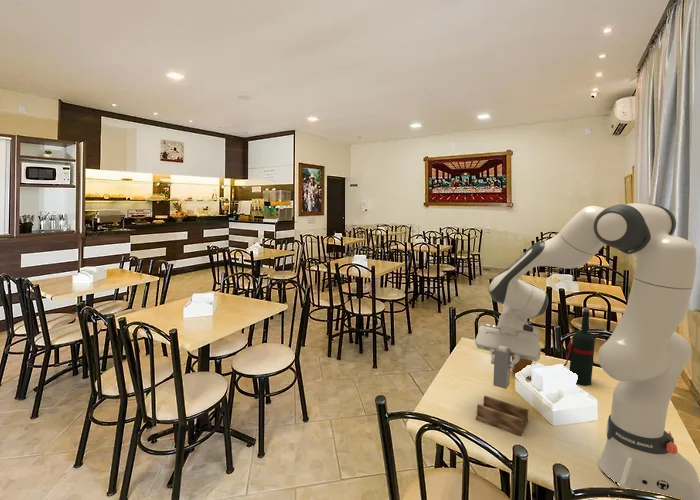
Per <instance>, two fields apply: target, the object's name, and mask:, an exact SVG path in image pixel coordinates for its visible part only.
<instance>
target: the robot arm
mask: <svg viewBox="0 0 700 500" xmlns="http://www.w3.org/2000/svg"><path fill="white" fill-rule="evenodd" d="M676 228H677V219H676V217H675V215H674V214H673V212H672V211H671V210H669V209H667V208H666V207H664V206H661V205H658V204H652V203H651V204H649V203H648V204H645V203H638V202H633V203H625V204H624V203H623V204H614V205H611V206H610V207H607V208H605V207H602V206H599V205H598V206H597V205H588V206H585V207H583V208H582V209H581V210H580V211H578V212H577V213H576V214H575V215H574V216H572V217H571V219H570V220H569V221H568V222H567V223H565V225H564V226H563V227H562V229H561V230H560V231H559V232H558V233H557V234H556V235H554V236H553V237H551V238H549V239H547V240H544V241H543V240H542V241H537V242H535V243H534V244H533V245H531V246H530V247H529V248H528V249H526V250H525V251H524V252H523V253H522V254H521V255H520V256H519V257H518V258H516V260H514V261H513V262H512V263H511V264H510V265H509V266H508V267H507V268H505V270H503V271H502V272H500V273H498V274H497V275H495V277H494V278H493V279H492V280H491V282H490V285H489V287H488V293H489V295H490V297H491V299H492V300H493V302H496V303H499V304H502V311H501V314H500V315H499V319H498V322H497V325H494V324H489V323H484V324H481V325H479V328H478V330H477V332H478V333H477V335H476V338H475V340H474V344H475V347H476V348H477V349H479V350H484V351H488V352H489V353H490V356H491V360H490V364H491V365H494V355H495V350H496V349H497V348H498V347H499V346H500V345H502V346H507V347H508V349H511V356H514V358H515V359H514V360H513V361H512V360H511V361H509V364H508V368H510V370H511V369H514V365H515V364H516V363H517V362H518V361H519V360H520V358H523V359H527V360H532V362H537V361H540V358H541V343H540V333H539V331H538V329H537V327H535V326H533V325H532V324H531V325H530V324H529V323H528V319H533V318H536V317H539V316H542V315H544V314H545V313H546V311H547V308H548V305H549V296H548V294H547V292H546V291H545V290H543V289H542V288H539V287H537V286H535V285H533V284H530V283H527V282H526V281H523V280H521V279H520V278H521V277H523V276H524V275H525V274H527V273H528V272H529V271H530V270H531V269H532V268H536V267H552V268H554V267H555V268H560V269H576V268H580V267H583V266H585V265H586V264H588V263H589V262H590V261H591V260H592V259H593V258H594V257H595V256H596V254H597V253H599V251H600V250H601V249H602V248H603V247H604V246H605V245H607V246H608V247H611V248H613V249H616V250H618V251H620V252H622V253H623V254H626V255H632V254H634V255H635V258H636V265H635V266H636V267H635V270H634V274H633V278H632V279H633V280H632V283H631V288H630V293H629V296H628V301H627V303H626V307H625V309H624V311H623V313H622V315H621V317H620V319H619V321H618V323H617V325H616V326H615V328H614V330H613V332H612V334H610V337H609V338H608V339H607V340H606V341H605V342H604V343H603V344H602V345H601V346H600V348H599V350H598V352H597V353H598V354H597V359H598V363H599V366H600V367H601V368H602V370H603V371H604V373H606V375H608V376H609V377H610V378H611V379H614V380H616V381H618V383H617V384H616V385H615V388H614V389H613V393H612V401H611V409H610V414H609V416H608V419H607V423H606V433H605V434H606V442H605V445H604V448H603V451H602V453H601V455H600V457H599V458H598V461H597V465H598V468H599V469H600V471H601V470H602V471H603V472H604V473H605V474H606V475H607V476H609V477H610V478H612V479H613V480H614V481H615V482H617V483H619V484H620V486H618V487H619V489H621V488H630V489H638V490H644V491H650V492H655V493H660V494H664V495H668V496H672V497H675V498H679V499H682V500H700V480H699V476H698V474H697V470H696V469H695V468H694V466H693V464H692V463H691V462H690V461H689V460H688V459H687V458H685V457H684V456H683V455H682V454H681V453H680V452H679V451H678V446H677V445H676V444H675V439H674V437H673V436H672V433H671V431H666V429H665V428H666V422H667V415H668V409H669V405H670V401H671V399H672V396H673V395H674V394H673V393H674V391H675V389H676V387H677V385H678V382H679V379H680V377H681V374H682V372H683V370H684V368H685V367H686V366H687V364H688V363H689V362H690V360H691V358H692V353H693V352H692V351H693V350H692V346H691V345H690V343H689V341H688V340H687V339H686V338H685V337H684V336H683V335H681V334H680V333H678V332H675V331H676V329H677V328H678V327H679V326H680V325H681V324H682V322H683V321H684V320H685V317H686V314H687V311H688V306H689V302H690V299H691V294H692V292H693V289H694V288H693V287H694V282H695V277H696V271H697V248H696V246H695V245H694V244H693V243H692V242H691V241H689V240H688V239H686V238H683V237H681V236H676V235H675V236H674V235H673V234H674V232H675V231H676ZM602 471H601V472H602ZM603 472H602V473H603ZM604 473H603V474H604ZM605 474H604V475H605ZM606 475H605V476H606ZM607 476H606V477H607ZM615 482H614V483H615Z"/></svg>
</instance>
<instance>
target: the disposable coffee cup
mask: <svg viewBox="0 0 700 500" xmlns="http://www.w3.org/2000/svg"><path fill="white" fill-rule="evenodd" d="M514 359H515V358H514V356H511V362H512V361H513V360H514ZM531 364H533V361H532V360H527V359H523V358H520V360H519V361H518V362H517V363H516V364H515V365H514V369H512V374H513V375H514V374H515V373H517V372H519V371H521V370H522V369H523V368H525V367H526V366H527V365H531ZM531 366H532V365H531Z"/></svg>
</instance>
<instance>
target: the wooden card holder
mask: <svg viewBox="0 0 700 500" xmlns="http://www.w3.org/2000/svg"><path fill="white" fill-rule="evenodd" d="M474 420H475V421H478V422H481V423H484V424H487V425H489V426H492V427H494V428H497V429H500V430H502V431H506V432H509V433H511V434H513V435H517V436H519V437H522V434H523V433H524V431H525V428H526V426H527V424H528V423H529V409H527V408H524V407H522V406H519V405H516V404H512V403H509V402H506V401H503V400H500V399H496V398H493V397H490V396H487V395H484V396H483V404H479V403H478V404H477V405H476V416H475V419H474Z"/></svg>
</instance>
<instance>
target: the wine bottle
mask: <svg viewBox="0 0 700 500" xmlns="http://www.w3.org/2000/svg"><path fill="white" fill-rule="evenodd" d="M589 320H590V307H583V310H582V317H581V328H580V329H581V330H578V331H576V332H575V333H574V334H573V336H572V340H571V341H570V340H569V341H568V345H567V351H568V352H567V357H566V360H565V362H564V364H563V366H565V367H566V366H567V364H568V362H569V370H570V371H572V372H573V373H576V374H577V375H578V380H577V384H576V385H578V386H584V387H585V386H586V387H588V386H589V387H590V386H591V385H592V379H593V378H592V376H593V366H594V357H595V356H594V355H595V345H596V339H595V336H594V335H593V334H591V333H590V332H589V331H588V330H589V322H590V321H589ZM569 358H570V361H569ZM569 370H568V371H569Z"/></svg>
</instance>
